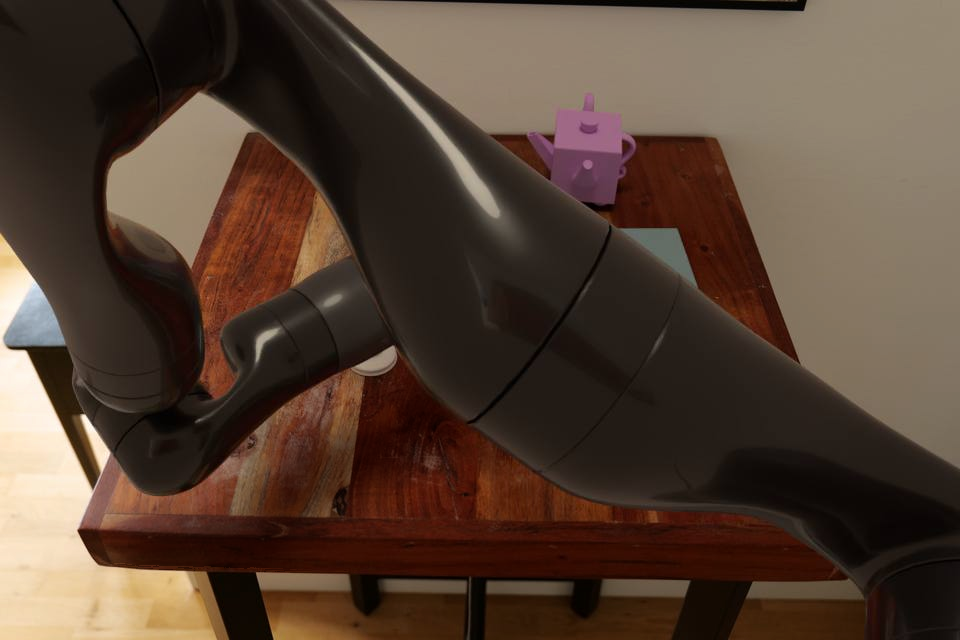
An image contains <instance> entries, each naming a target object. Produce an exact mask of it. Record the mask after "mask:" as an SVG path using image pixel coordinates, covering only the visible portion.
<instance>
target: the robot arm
mask: <svg viewBox="0 0 960 640" xmlns="http://www.w3.org/2000/svg"><path fill="white" fill-rule="evenodd" d="M197 94H201V95H204V96H206V97H208V98H209V99H212V100H213V101H215V102H217V103H218V104H220V105H222V106H223V107H225V108H226V109H228V110H229V111H230V112H232V113H233V114H235V115H236V116H238V117H239V118H240V119H242V121H244V122H246V123H247V124H248V125H250V126H251V127H252V128H253V129H254V130H256V131H257V132H258V133H259V134H260V135H262V136H263V137H264V138H265V139H266V140H267V141H269V142H270V143H271V144H272V145H273V146H274V147H275V148H276V149H277V150H278V151H280V153H282V154H283V155H284V156H285V157H286V158H287V159H289V160H290V161H291V162H292V163H293V164H294V165H295V166H296V168H298V170H299V171H300V172H301V173H302V174H303V175H304V176H305V177H306V178H307V179H308V181H309V183H311V185H312V186H313V187H314V189H315V190H316V191H317V193H318V195H319V197H320V198H321V199H322V201H323V202H324V204H325V205H326V207H327V209H328V211H329V212H330V213H331V215H332V218H333V219H334V221H335V223H336V225H337V227H338V229H339V231H340V233H341V235H342V237H343V239H344V241H345V243H346V245H347V248H348V250H349V253H350V254H349V255H347V256H345V257H343V258H341V259H339V260H337V261H335V262H333V263H331V264H329V265H327V266H325V267H323V268H320V269H319V270H317V271H315V272H313V273H311V274H310V275H308V276H307V277H305V278H304V279H302V280H301V281H299V282H298V283H297V284H295V285H292V286H291V287H289V288H288V289H286V290H284V291H282V292H280V293H278V294H276V295H274V296H272V297H270V298H267V299H265V300H264V301H262V302H259V303H257V304H256V305H253V306H252V307H250V308H247V309H245V310H244V311H242V312H239V313H237V314H236V315H234V316H232V317H231V318H230V319H228V320H227V321H226V322H225V323H224V324H223V326H222V327H221V329H220V333H219V347H220V351H221V354H222V358H223V360H224V363H225V366H226V368H227V370H228V373H229V375H230V378H231V380H232V384H231V386H230V388H229V389H227V391H226V392H225V393H223V394H221V395H219V396H218V397H216V398H214V396H213V394H212V393H211V392H210V391H209V389H208V387H206V385H205V384H204V382H203V381H202V380H201V377H202V374H203V371H204V367H205V363H206V362H205V361H206V337H205V336H206V335H205V328H204V318H203V307H202V300H201V295H200V290H199V287H198V284H197V280H196V278H195V275H194V273H193V270H192V268H191V267H190V265H189V263H188V261H187V260H186V258H185V257H184V256H183V254H182V253H181V252H180V251H179V250H178V249H177V248H176V247H175V246H174V245H173V243H171V242H170V241H169V240H168V239H166V238H165V237H163V236H162V235H160V233H158V232H156V231H155V230H153V229H151V228H149V227H147V226H145V225H143V224H141V223H138V222H136V221H134V220H132V219H130V218H127V217H125V216H121V215H120V214H117V213H114V212H111V211H110V210H108V197H107V191H108V179H109V174H110V172H111V171H110V170H111V168H112V166H113V164H114V163H115V162H116V161H117V160H120V159H121V158H122V157H125V156H126V155H128V154H130V153H131V152H133V151H134V150H135V149H137V148H139V146H141V145H143V144H144V142H145V141H147V139H148V138H150V136H151V135H152V134H153V133H154V132H156V131H157V130H158V129H159V128H160V127H161V126H162V125H164V123H166V122H167V121H168V120H170V118H171V117H172V116H174V114H176V113H177V112H178V111H179V110H180V109H182V108H183V107H184V106H185V105H186V104H187V103H188V102H189V101H190V100H191V99H193V98H194V97H195V96H196V95H197ZM619 228H620V227H617V226H616V225H615V224H613V223H610V221H609V220H608V219H606V218H605V217H604V216H602V215H601V214H599V213H598V212H596V211H594V210H593V209H591V208H590V207H589V206H587V205H586V204H584V202H582V201H578V200H577V199H575V198H574V197H572V196H571V195H570V194H568V193H567V192H565V191H564V190H562V189H561V188H559V187H558V186H557V185H555V184H554V183H552V182H551V180H550V179H548V178H547V177H545V176H543V174H541V173H539V172H538V171H537V170H536V169H534V168H533V167H531V166H530V165H529V164H528V163H527V162H525V161H523V160H522V159H521V158H520V157H518V156H517V155H516V154H515V153H513V152H512V151H511V150H509V149H508V148H507V147H505V146H504V145H503V144H501V143H500V142H499V141H498V140H496V139H495V138H494V137H492V136H491V135H490V134H489V133H488V132H486V131H485V130H484V129H482V128H481V127H479V125H477V124H476V123H475V122H473V121H472V120H471V119H470V118H468V117H467V116H466V115H464V114H463V113H462V112H461V111H459V110H458V109H457V108H456V107H455V106H453V105H451V103H449V102H448V101H447V100H445V99H444V98H443V97H442V96H440V95H439V94H438V93H436V92H435V91H434V90H433V89H431V88H430V87H429V86H428V85H426V84H425V83H423V82H422V81H421V80H420V79H419V78H418V77H416V76H415V75H414V74H412V73H411V72H410V71H409V70H407V69H406V67H404V66H403V65H402V64H400V63H399V62H397V60H395V59H394V58H393V57H392V56H390V55H389V54H388V53H387V52H386V51H384V49H382V48H381V47H380V46H379V45H378V44H377V43H375V42H374V41H373V40H372V39H371V38H370V37H368V36H367V35H366V34H365V33H364V32H363V31H362V30H361V29H360V28H358V27H357V26H356V25H355V24H354V23H353V22H351V21H350V20H349V19H348V18H347V17H346V16H345V15H344V14H343V13H342V12H341V11H339V10H338V9H337V8H336V7H335V6H333V5H332V4H331V2H329V1H328V0H0V235H1V236H2V238H3V239H4V240H5V242H6V243H7V244H8V246H9V248H11V250H12V251H13V253H14V254H15V256H16V257H17V258H18V260H19V261H20V262H21V264H22V265H23V266H24V268H25V269H26V270H27V272H28V273H29V275H30V276H31V277H32V279H33V280H34V281H35V283H36V284H37V286H38V287H39V289H40V290H41V292H42V293H43V296H44V297H45V299H46V300H47V302H48V304H49V307H50V308H51V311H52V312H53V314H54V317H55V319H56V321H57V325H58V327H59V329H60V332H61V334H62V338H63V341H64V343H65V345H66V349H67V351H68V354H69V356H70V359H71V361H72V364H73V370H72V377H71V384H72V385H71V386H72V389H73V392H74V395H75V397H76V399H77V402H78V404H79V406H80V408H81V410H82V411H83V413H84V415H85V417H86V418H87V420H88V421H89V423H90V425H91V426H92V427H93V429H94V430H95V432H96V433H97V435H98V437H99V438H100V440H101V441H102V442H103V444H104V445H105V447H106V448H107V450H108V451H109V453H110V454H111V456H112V458H113V459H114V460H115V462H116V463H117V466H118V467H119V468H120V470H121V471H122V472H123V475H124V476H125V477H126V480H128V482H129V483H130V484H131V485H132V486H133V487H134V488H135V489H136V491H138V492H140V493H142V494H144V495H148V496H152V497H170V496H175V495H180V494H182V493H183V494H184V493H186V492H188V491H191V490H192V489H195V488H196V487H197V486H200V485H201V484H202V483H204V482H205V481H206V480H207V479H209V477H211V476H212V475H214V473H215V472H216V471H217V470H219V468H220V467H221V466H222V465H223V464H224V463H225V462H226V461H227V460H228V459H229V458H230V457H231V456H232V455H233V453H234V452H236V450H237V449H238V448H239V447H240V446H241V445H242V444H243V443H244V442H245V441H246V440H247V439H249V437H250V436H251V435H252V434H253V433H254V432H255V431H257V430H258V429H259V428H260V427H261V426H262V425H263V424H264V423H265V422H266V421H268V419H270V418H271V417H272V416H273V415H274V414H276V412H278V411H279V410H280V409H282V408H283V407H284V406H286V405H287V404H288V403H289V402H291V401H292V400H294V399H295V398H297V397H300V396H301V395H303V394H304V393H306V392H308V391H309V390H311V389H313V388H315V387H317V386H318V385H320V384H322V383H323V382H325V381H327V380H328V379H330V378H332V377H334V376H336V375H337V374H339V373H342V372H344V371H347V370H349V369H351V368H352V367H355V366H357V365H359V364H361V363H363V362H365V361H367V360H369V359H370V358H372V357H374V356H376V355H377V354H379V353H381V352H383V351H384V350H386V349H388V348H390V347H391V346H394V347H395V350H396V353H397V354H398V355H399V357H400V359H401V361H402V363H403V364H404V366H405V367H406V369H407V370H408V372H409V373H410V374H411V376H412V377H413V379H414V380H415V382H416V383H418V385H419V386H420V388H421V389H422V390H423V391H424V392H425V393H426V395H428V396H429V397H430V398H431V399H432V401H434V402H435V403H436V404H437V405H438V406H440V407H441V408H442V409H444V410H445V411H447V412H448V413H449V414H451V415H452V416H453V417H454V418H456V420H458V421H459V422H460V423H463V424H465V426H467V427H468V428H469V429H471V430H473V431H474V432H475V433H477V434H478V435H479V436H481V437H483V438H484V439H485V440H487V441H488V442H490V443H491V444H492V445H494V446H495V447H497V448H498V449H499V450H501V451H503V452H504V453H505V454H507V455H508V456H510V458H513V460H515V461H517V462H518V463H519V464H521V465H522V466H524V467H525V468H527V469H528V470H529V471H531V472H532V473H533V474H535V475H536V476H538V477H539V478H541V479H542V480H544V481H546V482H547V483H549V484H551V485H552V486H554V487H555V488H556V489H559V490H560V491H562V492H564V493H567V494H568V495H570V496H572V497H575V498H578V499H581V500H584V501H587V502H590V503H595V504H599V505H603V506H606V507H607V506H609V507H612V508H613V507H614V508H621V509H630V510H640V511H651V512H671V513H672V512H673V513H698V514H700V513H702V514H721V515H722V514H724V515H734V516H735V515H736V516H741V517H748V518H752V519H755V520H758V521H762V522H765V523H767V524H770V525H771V526H774V527H776V528H777V529H780V530H781V531H783V532H784V533H786V534H788V535H790V536H792V537H793V538H794V539H796V540H798V541H800V542H801V543H803V544H804V545H806V546H807V547H808V548H810V549H811V550H813V551H815V552H816V553H817V554H819V555H820V556H822V557H823V558H824V559H826V560H827V561H828V562H830V563H831V564H832V565H834V566H835V567H836V568H837V569H838V570H839V571H841V572H842V573H843V574H844V575H845V576H846V577H847V578H848V579H849V580H850V581H851V582H852V583H853V584H854V585H855V586H856V587H857V589H858V590H859V591H860V594H861V595H862V597H863V599H864V601H865V610H864V611H865V612H864V628H863V640H960V467H958V466H957V465H955V464H953V463H952V462H949V461H947V460H946V459H945V458H943V457H942V456H939V455H938V454H936V453H934V452H932V451H931V450H929V449H927V448H925V446H922V445H920V444H919V443H917V442H916V441H914V440H912V439H911V438H909V437H907V436H905V435H904V434H902V433H900V432H899V431H897V430H896V429H894V428H893V427H891V426H890V425H888V424H886V423H885V422H883V421H882V420H880V419H879V418H877V417H875V416H874V415H872V414H871V413H869V412H868V411H867V410H865V409H864V408H862V407H861V406H859V405H858V404H856V403H855V402H854V401H852V400H851V399H849V398H848V397H847V396H845V395H844V394H842V393H841V392H840V391H839V390H837V389H835V388H834V387H833V386H831V385H830V384H829V383H827V382H826V381H825V380H824V379H822V378H820V377H819V376H818V375H816V374H815V373H813V372H812V371H810V370H809V369H807V368H806V367H805V366H803V365H802V364H801V363H799V362H797V360H795V359H794V358H792V357H790V356H789V355H787V354H786V353H785V352H784V351H782V350H780V349H779V348H777V346H775V345H773V344H772V343H771V342H769V341H768V340H766V339H765V338H763V337H762V336H760V334H757V333H756V332H755V331H754V330H752V329H750V327H748V326H747V325H745V324H744V323H742V322H741V321H739V319H737V318H736V317H734V316H733V315H732V314H731V313H729V312H728V311H727V310H726V309H724V308H723V307H721V305H719V304H718V303H716V302H715V301H714V300H713V299H711V298H710V297H709V296H708V295H707V294H706V293H704V292H703V291H702V290H701V289H700V288H699V287H698V288H697V287H696V286H694V285H693V284H692V283H691V282H689V281H688V280H687V279H685V278H684V277H683V276H682V275H680V274H679V273H678V272H676V271H675V270H674V269H673V268H671V267H670V266H668V265H667V264H666V263H664V262H663V261H662V260H660V259H659V258H658V257H656V256H655V255H654V254H652V253H651V252H650V251H648V250H647V249H646V248H644V247H643V246H641V245H640V244H639V243H637V242H636V241H635V240H633V239H632V238H631V237H629V236H628V235H627V234H625V233H624V232H623V231H621V230H620V229H619Z"/></svg>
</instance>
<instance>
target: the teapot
mask: <svg viewBox="0 0 960 640" xmlns="http://www.w3.org/2000/svg"><path fill="white" fill-rule="evenodd" d="M526 137H527V140H528V141H529V142H530V144H531V145H532V147H533V148H534V150H535V151H536V153H537V155H539V158H541V160H542V162H543V163H544V164H545V165H546V167H547V168H548V170H549V171H550V181H551V182H552V183H554V184H555V185H557V186H558V187H559V188H561V189H562V190H564V191H565V192H567V193H568V194H570V195H571V196H572V197H574V198H575V199H577V200H578V201H580V202H581V203H593V204H594V205H596V206H601V207H602V206H606V205H615V201H616V194H617V188H618V182H619V180H621V179H623V178H624V177H625V176H626V174H627V168H626V166H625V164H626V163H627V162H628V161H629V160H630V159H631V158H632V157H633V156H634V154H635V152H636V150H637V144H636V141H635V139H634V138H633V137H632V136H631V135H630V134H629V133H627V132H622V114H621V113H615V112H602V111H595V96H594V94H593V92H587V93H585V96H584V104H583V107H582V110H579V109H565V108H557V109H556V119H555V128H554V137H553V138H554V139H553V143H551V142H550V140H548V139H547V138H546V137H544V136H543V135H542V134H541V133H540V132H539V131H538V130H533V131H527V135H526ZM623 141H624V142H626V143H628V145H629V149H628V150H627V151H626V153H624V154H623Z"/></svg>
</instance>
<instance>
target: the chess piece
mask: <svg viewBox="0 0 960 640" xmlns="http://www.w3.org/2000/svg"><path fill="white" fill-rule="evenodd" d="M397 361H398V352H397V350H396V348H395V347H394V345H393V346H391V347H390V348H388V349H386V350H384V351H383V352H381V353H379V354H377V355H376V356H374V357H372V358H370V359H369V360H367V361H365V362H363V363H361V364H359V365H357V366H355V367H352V368H350V370H351V371H353V372H354V373H356V374H358V375H360V376H366V377H376V376H381V375H383V374H387V373H388V372H389V371H390V370H392V369H393V368H394V367H395V365H396V363H397Z"/></svg>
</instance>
